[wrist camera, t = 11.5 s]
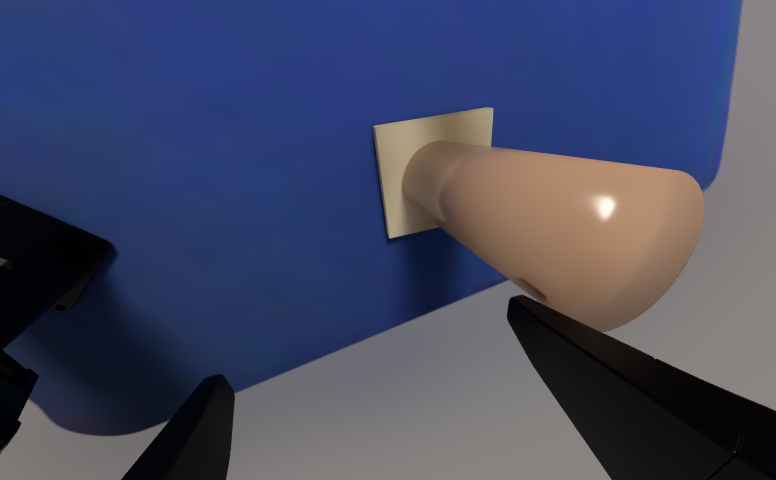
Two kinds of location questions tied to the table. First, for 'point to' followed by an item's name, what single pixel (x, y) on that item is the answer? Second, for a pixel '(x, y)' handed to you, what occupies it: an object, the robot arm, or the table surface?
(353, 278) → the table surface
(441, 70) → the table surface
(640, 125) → the table surface
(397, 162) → the coaster
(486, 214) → the tan rounded cylinder
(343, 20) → the table surface
